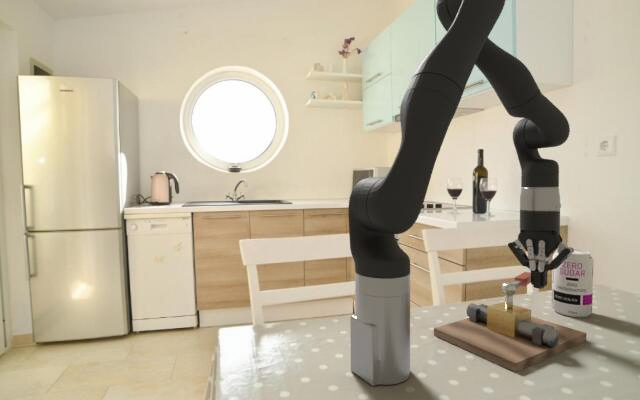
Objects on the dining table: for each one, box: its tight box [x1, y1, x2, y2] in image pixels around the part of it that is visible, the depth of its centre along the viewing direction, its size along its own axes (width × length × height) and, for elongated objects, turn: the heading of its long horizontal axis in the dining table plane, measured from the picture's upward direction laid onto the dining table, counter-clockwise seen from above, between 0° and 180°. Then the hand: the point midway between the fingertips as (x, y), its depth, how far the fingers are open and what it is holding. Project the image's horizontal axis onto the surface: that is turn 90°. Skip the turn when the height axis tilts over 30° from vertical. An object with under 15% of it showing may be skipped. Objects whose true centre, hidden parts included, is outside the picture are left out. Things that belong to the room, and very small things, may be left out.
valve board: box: [433, 315, 587, 373], centre depth 77 cm, size 24×18×2 cm
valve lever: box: [501, 271, 531, 295], centre depth 81 cm, size 15×3×2 cm, turn 135°
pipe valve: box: [466, 293, 559, 347], centre depth 77 cm, size 6×18×9 cm, turn 31°
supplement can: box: [551, 249, 594, 318], centre depth 92 cm, size 8×8×15 cm
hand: (539, 287), depth 82 cm, fingers closed
